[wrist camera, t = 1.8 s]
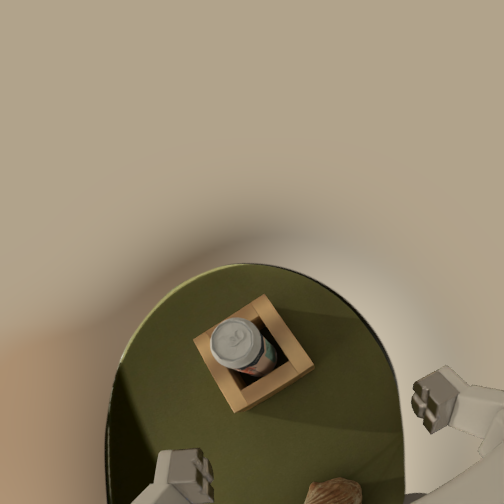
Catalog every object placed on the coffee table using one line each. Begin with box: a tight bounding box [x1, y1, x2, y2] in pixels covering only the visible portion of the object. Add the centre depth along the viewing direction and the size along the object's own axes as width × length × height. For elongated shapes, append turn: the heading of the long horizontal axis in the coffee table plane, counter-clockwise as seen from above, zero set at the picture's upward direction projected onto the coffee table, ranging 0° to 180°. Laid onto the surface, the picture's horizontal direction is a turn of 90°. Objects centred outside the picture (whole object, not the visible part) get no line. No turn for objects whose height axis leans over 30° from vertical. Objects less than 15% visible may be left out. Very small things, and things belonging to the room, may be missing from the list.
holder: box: [193, 294, 315, 413], centre depth 33 cm, size 10×10×5 cm
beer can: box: [210, 317, 277, 377], centre depth 30 cm, size 5×5×12 cm
